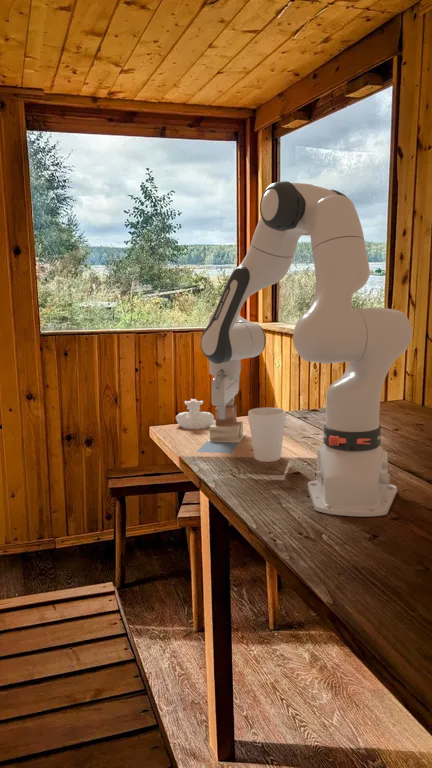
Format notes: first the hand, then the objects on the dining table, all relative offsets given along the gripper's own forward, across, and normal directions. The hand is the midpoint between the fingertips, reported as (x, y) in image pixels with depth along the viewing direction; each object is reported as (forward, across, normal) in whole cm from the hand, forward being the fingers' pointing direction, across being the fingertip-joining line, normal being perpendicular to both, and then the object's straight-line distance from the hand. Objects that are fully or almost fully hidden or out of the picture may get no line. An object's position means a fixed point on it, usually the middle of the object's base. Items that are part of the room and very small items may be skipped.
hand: (226, 415), depth 171 cm
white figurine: (+8, +11, +12) cm, 18 cm away
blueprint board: (+8, -6, 0) cm, 9 cm away
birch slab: (+6, 0, 0) cm, 6 cm away
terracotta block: (+2, 0, 0) cm, 3 cm away
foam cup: (+8, -18, -14) cm, 24 cm away
